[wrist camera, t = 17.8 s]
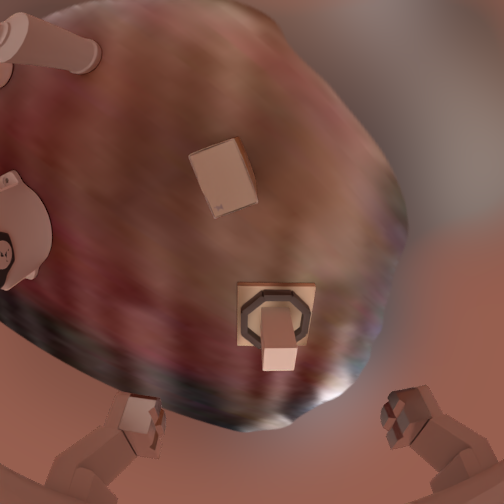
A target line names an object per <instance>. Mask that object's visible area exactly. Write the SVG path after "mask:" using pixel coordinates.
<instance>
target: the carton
mask: <svg viewBox="0 0 504 504" xmlns="http://www.w3.org/2000/svg"><path fill="white" fill-rule="evenodd" d="M260 333H261V349H262V365H263V371H288V370H294V366H295V360H296V354H297V343H296V338H295V334H294V329H293V324H292V319H291V315H290V310H289V307H261V323H260Z"/></svg>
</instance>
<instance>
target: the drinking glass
mask: <svg viewBox="0 0 504 504" xmlns="http://www.w3.org/2000/svg"><path fill="white" fill-rule="evenodd" d="M12 70H13V64H12V63H1V62H0V88H1V87H3V86H4V85H5V84H6V83H7V82H8V80H9V79H10V77H11V74H12Z"/></svg>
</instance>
